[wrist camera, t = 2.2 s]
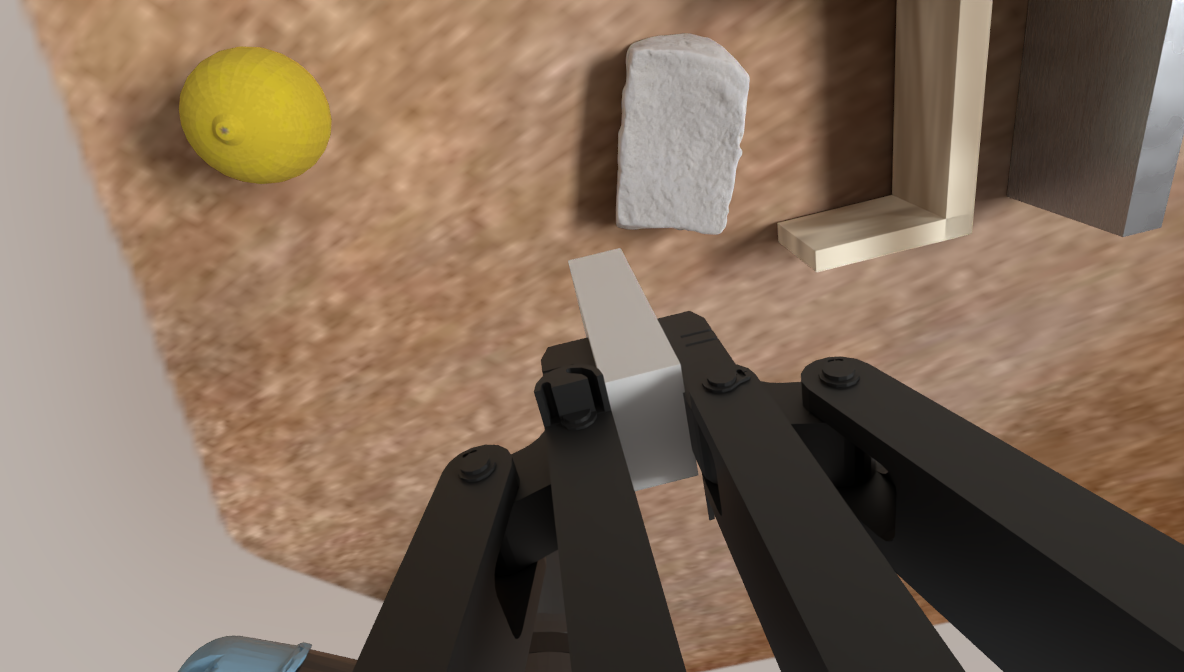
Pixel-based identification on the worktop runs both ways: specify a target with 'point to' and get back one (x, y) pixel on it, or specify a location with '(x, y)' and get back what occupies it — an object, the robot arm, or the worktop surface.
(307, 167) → the lemon
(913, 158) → the cradle
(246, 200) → the worktop surface
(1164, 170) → the wall
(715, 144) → the grey stone block
